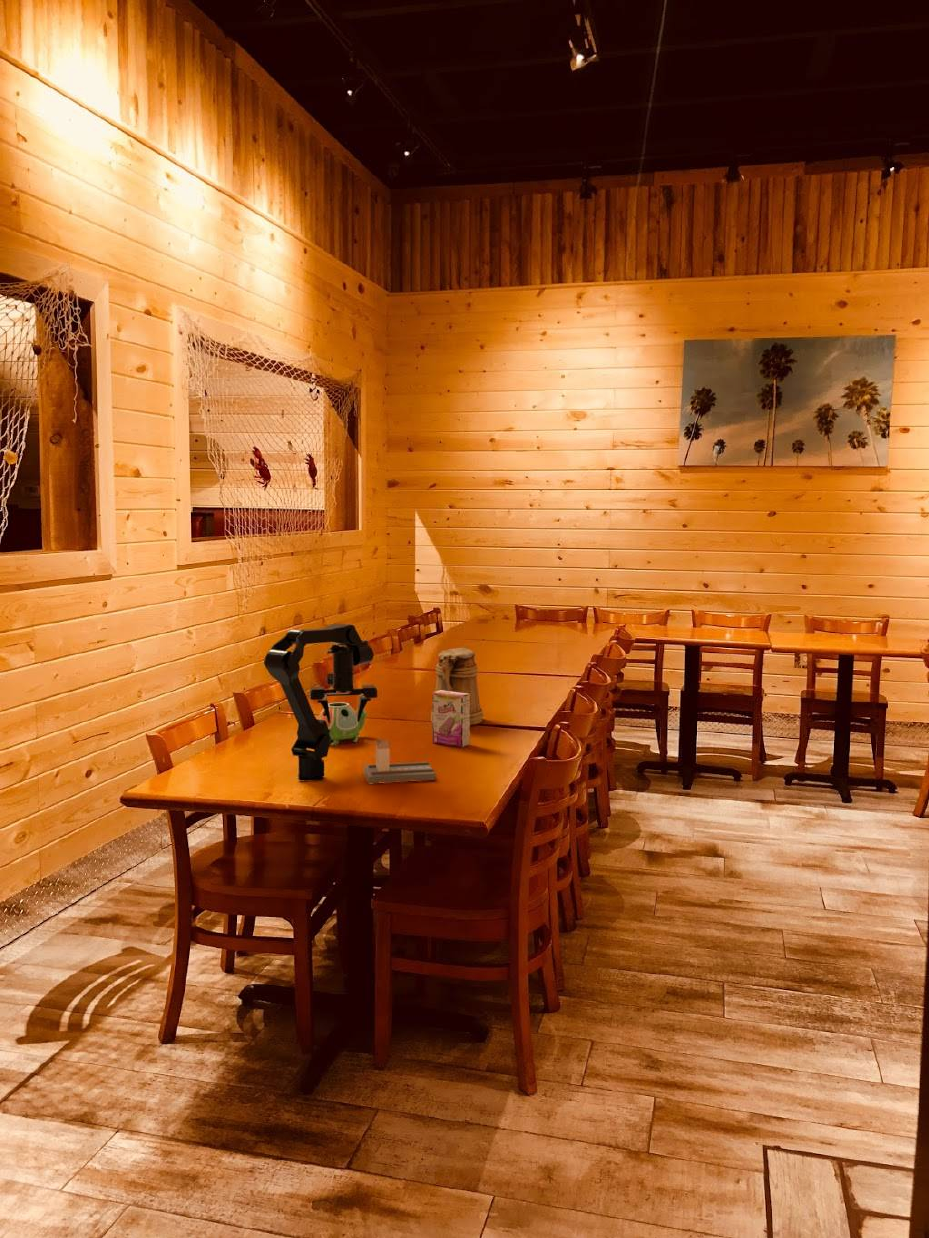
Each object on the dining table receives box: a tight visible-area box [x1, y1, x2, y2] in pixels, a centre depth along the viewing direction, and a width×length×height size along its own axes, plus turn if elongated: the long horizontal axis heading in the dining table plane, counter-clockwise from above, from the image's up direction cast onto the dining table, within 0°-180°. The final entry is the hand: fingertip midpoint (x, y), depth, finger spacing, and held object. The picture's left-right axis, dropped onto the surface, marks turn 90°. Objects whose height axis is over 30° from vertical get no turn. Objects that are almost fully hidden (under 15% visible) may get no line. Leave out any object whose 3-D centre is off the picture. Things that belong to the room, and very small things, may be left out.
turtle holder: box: [318, 701, 368, 747], centre depth 310 cm, size 12×18×12 cm
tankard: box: [430, 647, 484, 727], centre depth 334 cm, size 18×24×25 cm
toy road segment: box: [363, 761, 436, 783], centre depth 269 cm, size 18×12×3 cm, turn 102°
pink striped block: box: [375, 739, 391, 772], centre depth 268 cm, size 3×6×8 cm, turn 12°
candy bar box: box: [432, 690, 471, 748], centre depth 305 cm, size 11×5×16 cm, turn 59°
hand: (343, 722), depth 278 cm, fingers open, 8 cm apart
